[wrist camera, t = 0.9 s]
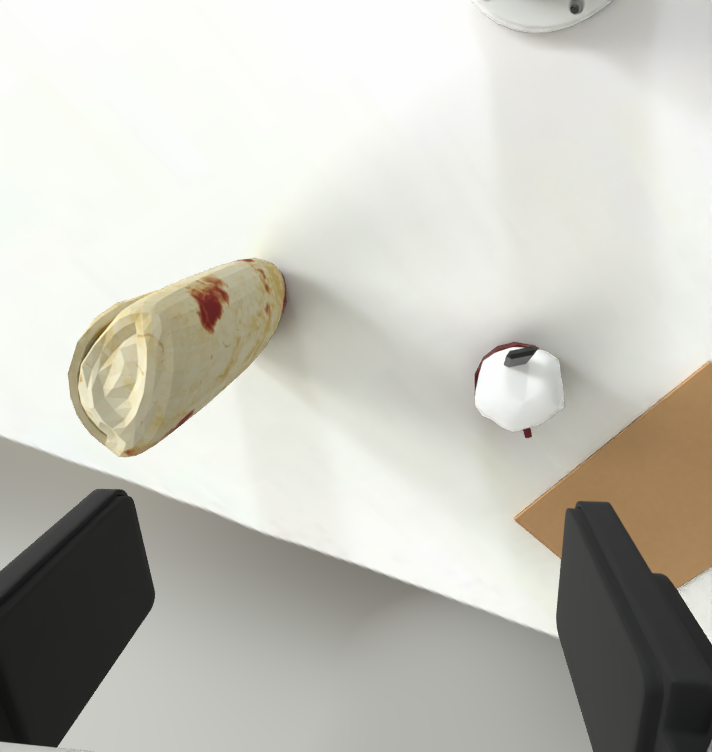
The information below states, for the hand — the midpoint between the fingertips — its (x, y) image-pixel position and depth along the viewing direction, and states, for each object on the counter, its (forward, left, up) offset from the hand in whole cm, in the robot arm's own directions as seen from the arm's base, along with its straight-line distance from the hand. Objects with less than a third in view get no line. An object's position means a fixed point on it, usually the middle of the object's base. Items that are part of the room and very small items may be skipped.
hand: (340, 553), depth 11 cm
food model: (+9, -9, -31) cm, 34 cm away
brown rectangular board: (-1, +28, -31) cm, 42 cm away
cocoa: (-1, +10, -31) cm, 33 cm away
